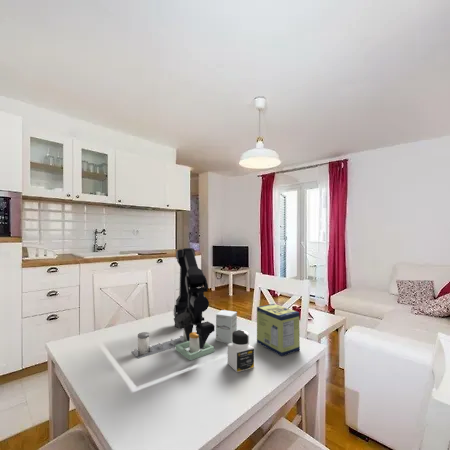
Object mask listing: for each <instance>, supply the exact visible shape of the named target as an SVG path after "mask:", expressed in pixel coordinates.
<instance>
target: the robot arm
mask: <svg viewBox="0 0 450 450" xmlns="http://www.w3.org/2000/svg"><path fill="white" fill-rule="evenodd" d="M175 259H176V262H177V264H178V265H179V289H178V291H179V293H178V297H177V298H176V299H175V304H174V307H173V316H174V318H173V321H174V328H177V329H180V330H182V329H183V328H184V331H185V334H186V338H187V341H190V337H189V334H190V333H192V330H193V329H194V326H195V332H196V334H197V335H198V336H199V346H200V350H203V349H204V345H205V342H207V340H208V339H209V337H210V335H211V334H212V333H214V332H215V331H216V325H215V324H214V323H212V322H210V321H208V320H207V321H205V317H203V313H204V312H205V311H207V310H208V308H209V307H210V302H209V299H208V298H207V297H206V296H205V294H204V293H205V292H208V290H209V284H208V281H207V280H208V279H207V277H206V275H204V274H205V273H204V271H203V270H202V269H201V268H199V267H198V264H197V263H198V262H197V260H196V251H195V249H194V248H193V247H184V248H179V249H178V250H176V252H175Z"/></svg>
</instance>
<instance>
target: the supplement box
mask: <svg viewBox="0 0 450 450" xmlns="http://www.w3.org/2000/svg"><path fill="white" fill-rule="evenodd" d="M237 318H238V311H233V310H226V309H221V310H219V312H216V314H215V319H216V320H215V341H216V342H221V343H222V344H225V345H226V346H228V344H230V343H232V334H233V332H234V331H237V330H238V329H237V327H238V326H237V325H238V324H237V323H238V322H237V321H238V320H237Z"/></svg>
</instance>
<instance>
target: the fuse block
mask: <svg viewBox="0 0 450 450" xmlns="http://www.w3.org/2000/svg"><path fill="white" fill-rule="evenodd" d="M192 332H194V331H193V330H192ZM149 342H150V333H149V332H147V331H143V332H139V333H138V334H137V348H134V349H133V350H132V351H131V354H133V356H134V357H135V358H136V359H141V358H145V357H149V356H150V355H154V354H157V353H161V352H164V351H168V350H171V349H176V345H177V344H180V343H184V342H187V338H186V334H185V331H184V328H183V334H182V335H180V336H179V337H177V338H173V337H172V338H170V340H168V341H164V342H162V341H158V342H157V343H158V344H154V345H151V344H150V343H149Z"/></svg>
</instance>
